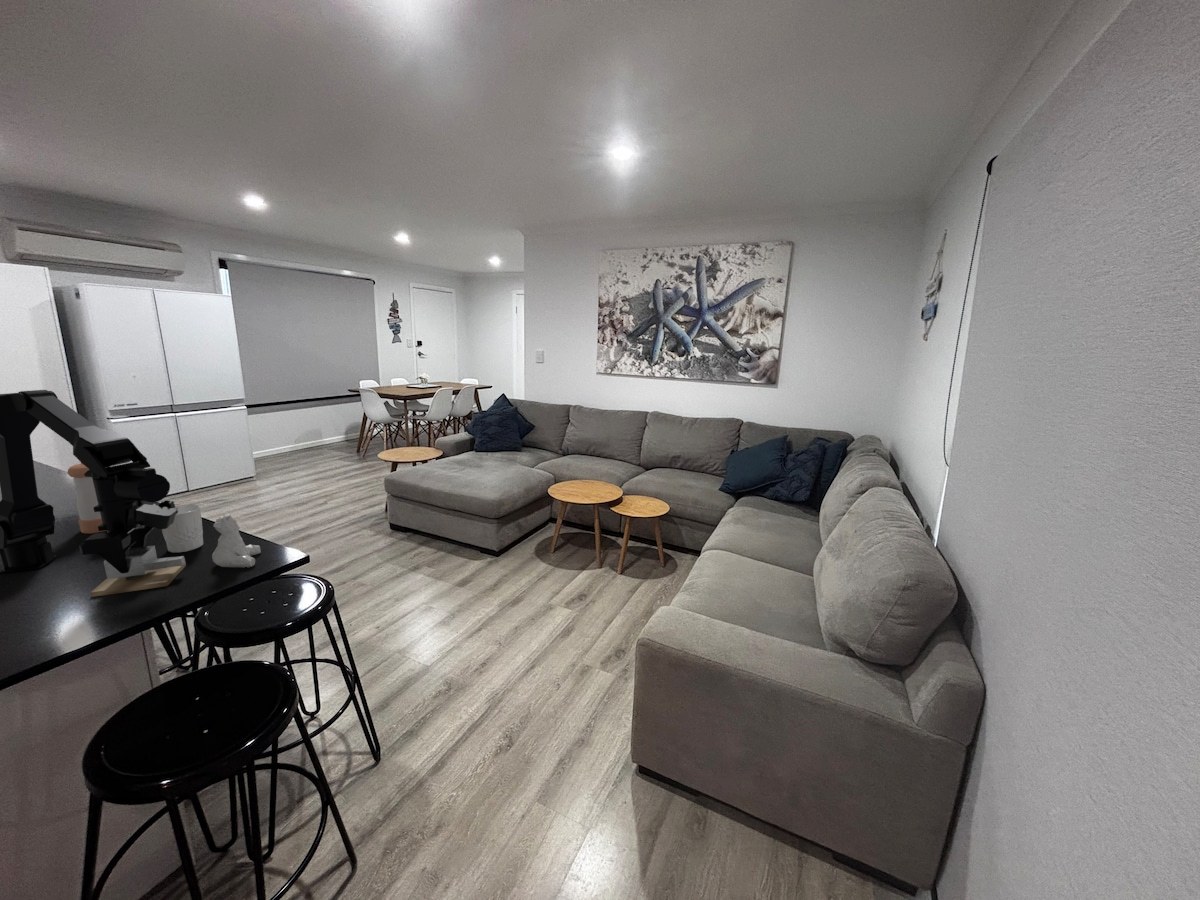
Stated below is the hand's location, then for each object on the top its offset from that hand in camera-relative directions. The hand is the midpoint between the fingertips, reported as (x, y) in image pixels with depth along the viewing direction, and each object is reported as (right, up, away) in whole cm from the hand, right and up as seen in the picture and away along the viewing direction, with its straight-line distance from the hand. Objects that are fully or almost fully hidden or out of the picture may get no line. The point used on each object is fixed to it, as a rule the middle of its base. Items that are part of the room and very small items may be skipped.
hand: (132, 566), depth 99 cm
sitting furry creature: (+14, -2, +10) cm, 18 cm away
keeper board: (+1, -3, +1) cm, 4 cm away
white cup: (-4, 0, +17) cm, 18 cm away
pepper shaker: (-36, +3, +27) cm, 45 cm away
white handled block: (+2, -1, +1) cm, 3 cm away
